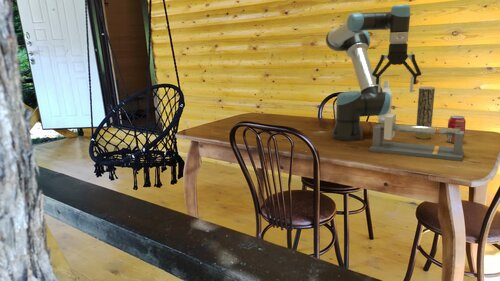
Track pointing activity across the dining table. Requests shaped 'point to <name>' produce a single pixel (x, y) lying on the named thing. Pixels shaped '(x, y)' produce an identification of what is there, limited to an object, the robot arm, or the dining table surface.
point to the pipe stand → (418, 147)
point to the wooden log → (425, 109)
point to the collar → (389, 126)
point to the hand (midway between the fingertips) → (394, 91)
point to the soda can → (456, 126)
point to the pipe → (422, 129)
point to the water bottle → (386, 89)
